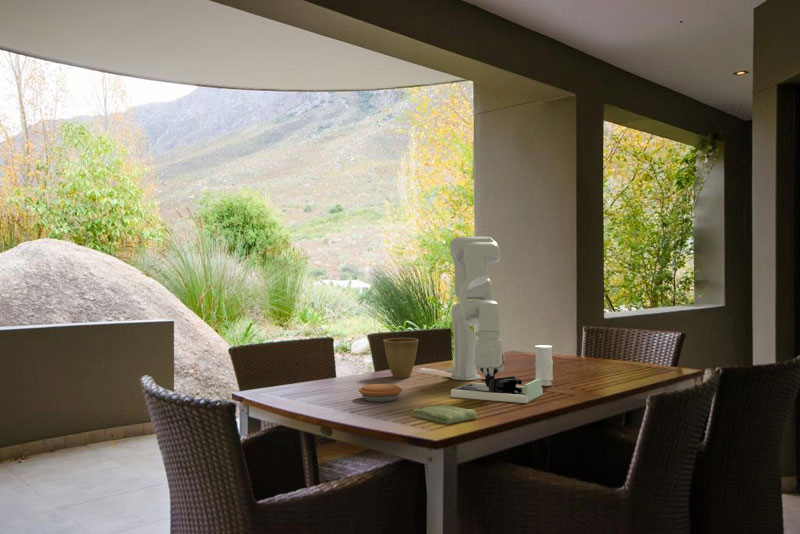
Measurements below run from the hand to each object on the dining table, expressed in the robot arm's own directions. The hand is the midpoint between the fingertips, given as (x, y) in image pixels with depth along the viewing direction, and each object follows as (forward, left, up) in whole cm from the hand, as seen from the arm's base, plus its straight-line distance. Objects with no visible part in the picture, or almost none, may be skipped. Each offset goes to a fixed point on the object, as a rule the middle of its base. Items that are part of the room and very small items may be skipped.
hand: (490, 386), depth 243 cm
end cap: (+6, 0, -3) cm, 7 cm away
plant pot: (-50, +25, -3) cm, 56 cm away
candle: (+11, +31, -3) cm, 33 cm away
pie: (-32, -23, -4) cm, 40 cm away
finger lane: (+3, 0, -3) cm, 4 cm away
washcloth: (+1, -41, -4) cm, 41 cm away
